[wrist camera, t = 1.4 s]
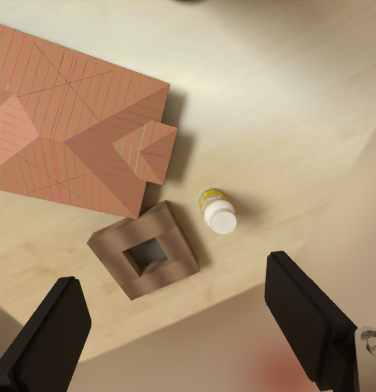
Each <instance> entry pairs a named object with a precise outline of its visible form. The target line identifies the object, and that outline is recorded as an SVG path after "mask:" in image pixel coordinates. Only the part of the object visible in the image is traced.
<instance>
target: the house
mask: <svg viewBox="0 0 376 392" xmlns="http://www.w3.org/2000/svg"><path fill="white" fill-rule="evenodd" d="M169 86H170V84H169V83H166V82H163V81H160V80H157V79H155V78H152V77H149V76H146V75H143V74H140V73H137V72H135V71H132V70H129V69H126V68H123V67H120V66H118V65H115V64H112V63H109V62H106V61H103V60H101V59H98V58H95V57H92V56H89V55H86V54H84V53H81V52H78V51H75V50H72V49H69V48H66V47H64V46H61V45H58V44H55V43H52V42H49V41H47V40H44V39H41V38H38V37H35V36H32V35H30V34H27V33H24V32H21V31H18V30H15V29H13V28H10V27H7V26H4V25H1V24H0V190H1V191H6V192H10V193H15V194H20V195H25V196H29V197H34V198H39V199H43V200H48V201H53V202H57V203H62V204H67V205H72V206H76V207H81V208H86V209H90V210H95V211H100V212H104V213H109V214H114V215H118V216H123V217H128V218H133V219H138V216H139V212H140V208H141V204H142V200H143V195H144V191H145V187H146V183H147V181H148V182H152V183H156V184H160V185H163V183H164V179H165V175H166V171H167V168H168V164H169V160H170V156H171V153H172V149H173V145H174V141H175V138H176V134H177V130H178V128H176V127H173V126H169V125H166V124H163V123H161V120H162V115H163V111H164V107H165V103H166V99H167V94H168V90H169Z"/></svg>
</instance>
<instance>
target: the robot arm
mask: <svg viewBox="0 0 376 392" xmlns="http://www.w3.org/2000/svg"><path fill="white" fill-rule="evenodd" d="M265 301H266V304H267V306H268V307H269V309H270V311H271V313H272V315H273V316H274V318H275V320H276V322H277V323H278V325H279V327H280V329H281V330H282V332H283V334H284V336H285V337H286V339H287V341H288V343H289V344H290V346H291V348H292V350H293V352H294V353H295V355H296V357H297V358H298V360H299V362H300V364H301V366H302V367H303V369H304V371H305V372H306V374H307V376H308V378H309V379H310V380H311V381H312V382H314V381H315V383H316V385H317V386H318V388H319V390H320V391H326V390H333V392H376V328H374V327H367V326H363V327H359V328H358V327H357V326H356V325H355V324H354V323H353V322H352V321H351V320H350V319H349V318H348V317H347V316H346V315H345V314H344V313H343V312H342V311H341V310H340V309H339V308H338V306H337V305H336V304H335V303H333V301H332V300H331V299H330V298H329V297H328V296H327V295H326V294H325V293H324V292H323V291H322V290H321V289H320V288H319V287H318V286H317V285H316V284H315V283H314V282H313V280H312V279H310V278H309V277H308V276H307V275H306V274H305V273H304V272H303V271H302V270H301V269H300V268H299V266H298V265H297V264H296V263H295V262H294V261H293V260H292V259H291V258H290V257H289V256H288V255H287V254H286V253H285V252H284V251H276V252H271V253H270V255H268V257H267V268H266V282H265ZM90 329H91V318H90V314H89V311H88V308H87V305H86V301H85V298H84V295H83V291H82V288H81V285H80V282H79V280H78V279H75V277H74V276H70V277H62V278H59V279H58V280H57V282H56V283H55V284H54V286H53V287H52V289H51V290H50V291H49V293H48V294H47V295H46V297H45V298H44V300H43V301H42V302H41V304H40V305H39V306H38V308H37V309H36V311H35V312H34V313H33V315H32V316H31V318H30V319H29V320H28V322H27V323H26V324H25V326H24V327H23V329H22V330H21V332H20V333H19V334H18V335H17V337H16V338H15V340H14V341H13V342H12V344H11V345H10V347H9V348H8V349H7V351H6V352H5V353H4V355H3V356H2V358H1V359H0V392H67V389H68V386H69V384H70V381H71V379H72V376H73V373H74V371H75V368H76V365H77V363H78V360H79V358H80V355H81V352H82V350H83V347H84V345H85V342H86V339H87V337H88V334H89V332H90Z"/></svg>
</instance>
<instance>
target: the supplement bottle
mask: <svg viewBox="0 0 376 392" xmlns="http://www.w3.org/2000/svg"><path fill="white" fill-rule="evenodd" d="M198 203H199V207H200V209H201V212H202V215H203V217H204V220H205V222H206V224H207V225H208V226H209V227H211V228H212V229H213V230H214V231H215V232H216V233H218V234H222V235H224V234H228V233H230V232H232V231H233V230H234V229H235V227H236V224H237V219H236V217H235V209H234V207H233V206H232V204H231V203H230V202H229V200H228V199H227V198H226V196H225V195H224V194H223V193H222V192H221V191H220V190H218V189H216V188H209V189H207V190H205V191H203V192H202V193H201V195H200V197H199V200H198Z"/></svg>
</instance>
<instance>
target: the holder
mask: <svg viewBox="0 0 376 392" xmlns="http://www.w3.org/2000/svg"><path fill="white" fill-rule="evenodd" d="M87 244H88V246H89V247H90V248H91V249H92V251H93V252H94V253H95V255H96V256H97V257H98V258H99V260H100V261H101V262H102V264H103V265H104V266H105V267H106V269H107V270H108V271H109V273H110V274H111V275H112V277H113V278H114V279H115V280H116V282H117V283H118V284H119V286H120V287H121V288H122V289H123V291H124V292H125V293H126V295H127V296H128V297H129V298H130V300H131V301H132V300H134V299H136V298H139V297H141V296H143V295H146V294H148V293H150V292H153V291H155V290H157V289H160V288H162V287H164V286H167V285H169V284H171V283H174V282H176V281H178V280H181V279H183V278H186V277H188V276H190V275H193V274H195V273H197V272H200V267H199V262H198V259H197V257H196V255H195V253H194V252H193V250H192V248H191V246H190V244H189V242H188V240H187V238H186V237H185V235H184V233H183V231H182V229H181V227H180V225H179V223H178V222H177V220H176V218H175V216H174V214H173V212H172V210H171V208H170V206H169V205H168V203H167V201H166V200H165V201H163V202H161V203H159V204H156V205H154V206H152V207H150V208H148V209H145V210H143V211H141V212H139V216H138V219H133V218H126V219H123V220H121V221H119V222H117V223H115V224H112V225H110V226H108V227H106V228H104V229H101V230H99V231H97V232H95V233H93V234H92V236H91V238H90V239H89V241H88V242H87Z"/></svg>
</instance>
